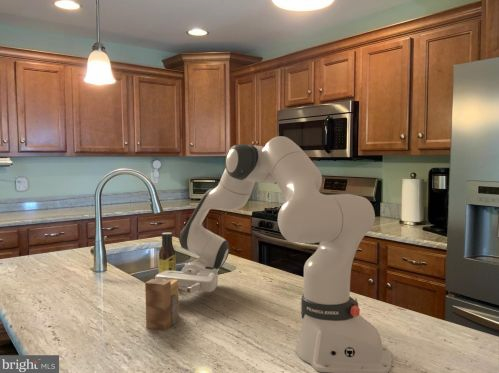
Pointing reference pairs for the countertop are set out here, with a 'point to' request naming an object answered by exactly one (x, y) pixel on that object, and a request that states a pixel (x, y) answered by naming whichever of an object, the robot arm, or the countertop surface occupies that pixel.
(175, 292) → the light brown wooden block
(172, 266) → the sauce bottle
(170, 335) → the countertop surface
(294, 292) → the countertop surface
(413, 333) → the countertop surface
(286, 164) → the robot arm
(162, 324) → the hinge post
